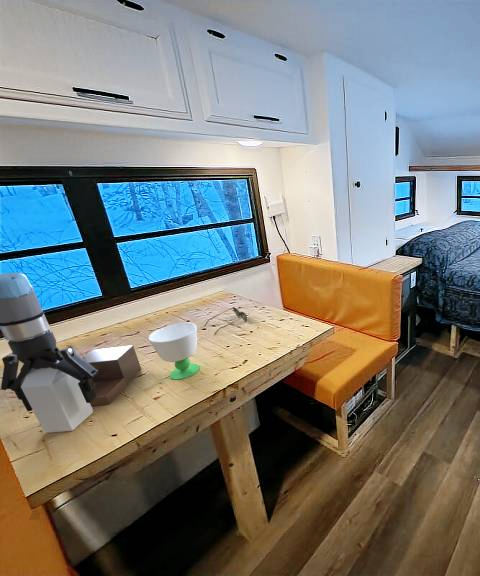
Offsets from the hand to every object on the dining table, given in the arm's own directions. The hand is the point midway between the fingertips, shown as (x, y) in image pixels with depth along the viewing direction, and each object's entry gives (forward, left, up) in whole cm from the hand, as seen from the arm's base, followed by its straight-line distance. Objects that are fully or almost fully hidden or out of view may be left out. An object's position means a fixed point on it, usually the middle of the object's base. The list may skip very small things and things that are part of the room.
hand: (63, 403), depth 83 cm
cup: (+22, +19, -7) cm, 30 cm away
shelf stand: (0, +15, -7) cm, 16 cm away
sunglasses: (+26, +55, -7) cm, 61 cm away
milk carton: (0, 0, -7) cm, 7 cm away
